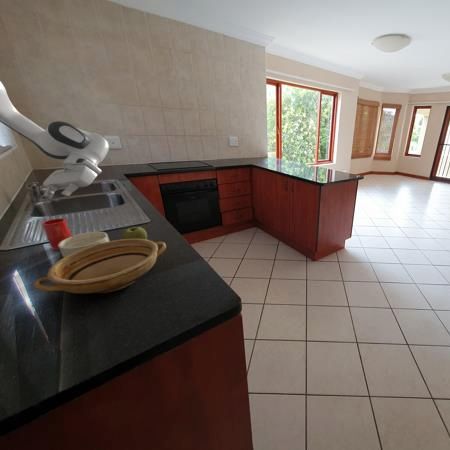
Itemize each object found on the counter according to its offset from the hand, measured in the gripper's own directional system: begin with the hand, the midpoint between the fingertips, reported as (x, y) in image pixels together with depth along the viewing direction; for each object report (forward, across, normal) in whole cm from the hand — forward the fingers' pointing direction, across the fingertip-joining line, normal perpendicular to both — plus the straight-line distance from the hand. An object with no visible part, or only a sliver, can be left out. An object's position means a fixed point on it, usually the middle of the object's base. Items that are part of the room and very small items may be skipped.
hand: (56, 195), depth 85 cm
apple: (+11, +24, +19) cm, 33 cm away
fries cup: (+14, -1, +12) cm, 19 cm away
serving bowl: (+15, +10, +13) cm, 23 cm away
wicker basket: (+27, +37, +9) cm, 46 cm away
